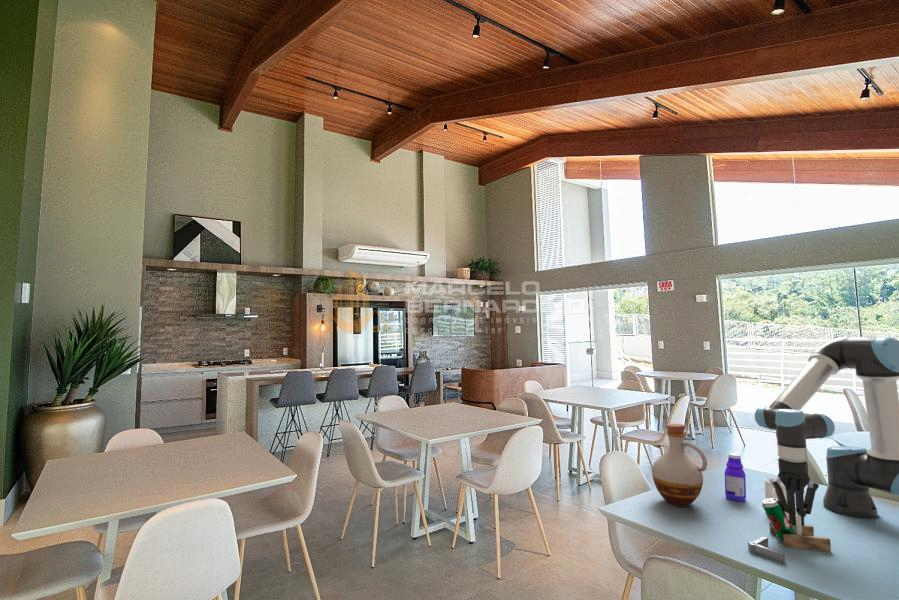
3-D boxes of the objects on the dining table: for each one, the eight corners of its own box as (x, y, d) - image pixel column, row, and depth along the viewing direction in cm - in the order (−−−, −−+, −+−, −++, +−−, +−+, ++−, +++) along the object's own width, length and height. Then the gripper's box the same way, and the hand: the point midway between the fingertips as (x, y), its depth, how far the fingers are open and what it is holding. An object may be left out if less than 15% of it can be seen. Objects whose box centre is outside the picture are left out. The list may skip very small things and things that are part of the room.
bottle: (746, 498, 181) (744, 453, 182) (746, 503, 176) (744, 457, 177) (725, 495, 185) (723, 451, 186) (724, 499, 180) (723, 454, 181)
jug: (714, 504, 175) (712, 424, 177) (702, 517, 162) (699, 432, 164) (661, 492, 188) (659, 418, 190) (645, 503, 175) (643, 424, 177)
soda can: (797, 541, 140) (778, 502, 142) (778, 543, 143) (760, 505, 145) (795, 533, 144) (777, 495, 146) (777, 534, 147) (760, 498, 149)
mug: (785, 524, 156) (784, 488, 157) (757, 516, 163) (756, 482, 164) (798, 516, 163) (796, 482, 164) (770, 509, 170) (769, 476, 171)
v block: (767, 545, 141) (766, 536, 141) (786, 564, 129) (786, 555, 129) (741, 542, 143) (741, 534, 143) (758, 561, 131) (758, 552, 131)
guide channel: (811, 536, 147) (811, 525, 147) (831, 551, 137) (830, 539, 137) (770, 532, 150) (769, 521, 150) (785, 547, 140) (785, 535, 140)
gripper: (808, 457, 147) (814, 532, 145) (764, 455, 150) (769, 529, 148) (822, 463, 140) (828, 543, 138) (775, 461, 143) (780, 539, 141)
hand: (797, 535), depth 143 cm, fingers closed
